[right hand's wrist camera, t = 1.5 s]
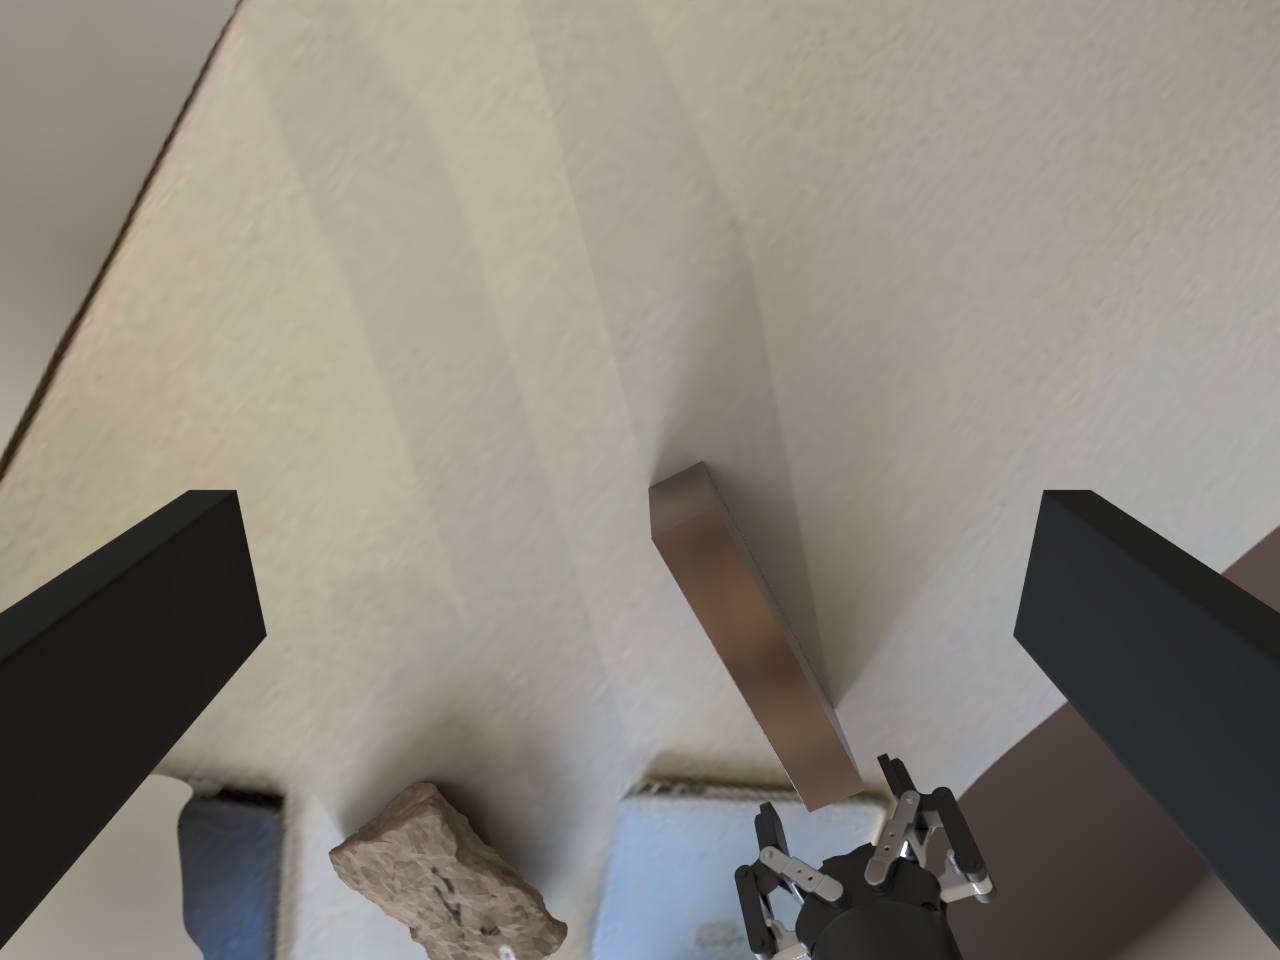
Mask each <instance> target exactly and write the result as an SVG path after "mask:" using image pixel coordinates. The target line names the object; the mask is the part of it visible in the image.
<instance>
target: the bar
mask: <svg viewBox="0 0 1280 960" xmlns="http://www.w3.org/2000/svg"><path fill="white" fill-rule="evenodd" d="M648 489H649V505H650V521H651V536H652V540H653V542H654V544H655V546H656V547H657V549H658V551H659V553H660V554H661V556H662V558H663V560H664V561H665V563H666V565H667V567H668V568H669V570H670V572H671V574H672V575H673V577H674V579H675V580H676V582H677V584H678V586H679V587H680V589H681V591H682V593H683V594H684V596H685V598H686V600H687V601H688V603H689V605H690V607H691V608H692V610H693V612H694V613H695V615H696V617H697V619H698V620H699V622H700V624H701V626H702V627H703V629H704V631H705V633H706V634H707V636H708V638H709V640H710V641H711V643H712V645H713V646H714V648H715V650H716V652H717V653H718V655H719V657H720V659H721V660H722V662H723V664H724V666H725V667H726V669H727V671H728V673H729V674H730V676H731V678H732V680H733V681H734V683H735V685H736V686H737V688H738V690H739V692H740V693H741V695H742V697H743V699H744V700H745V702H746V704H747V706H748V707H749V709H750V711H751V713H752V714H753V716H754V718H755V719H756V721H757V723H758V725H759V726H760V728H761V730H762V732H763V733H764V735H765V737H766V739H767V740H768V742H769V744H770V746H771V747H772V749H773V751H774V752H775V754H776V756H777V758H778V759H779V761H780V763H781V765H782V766H783V768H784V770H785V772H786V773H787V775H788V777H789V779H790V780H791V782H792V784H793V785H794V787H795V789H796V791H797V792H798V794H799V796H800V798H801V799H802V801H803V803H804V805H805V806H806V808H807V810H808V812H812V811H815V810H817V809H820V808H822V807H824V806H827V805H829V804H832V803H834V802H837V801H839V800H842V799H844V798H846V797H849V796H851V795H854V794H856V793H859V792H861V791H864V790H866V788H865V785H864V783H863V780H862V778H861V775H860V773H859V770H858V768H857V765H856V763H855V760H854V758H853V755H852V753H851V751H850V748H849V746H848V743H847V741H846V738H845V736H844V733H843V731H842V728H841V726H840V723H839V721H838V718H837V716H836V713H835V711H834V709H833V707H832V705H831V703H830V701H829V700H828V698H827V696H826V694H825V692H824V690H823V688H822V686H821V684H820V683H819V681H818V679H817V677H816V675H815V673H814V671H813V669H812V667H811V665H810V664H809V662H808V660H807V658H806V656H805V654H804V652H803V650H802V648H801V647H800V645H799V643H798V641H797V639H796V637H795V635H794V633H793V631H792V629H791V628H790V626H789V624H788V622H787V620H786V618H785V616H784V614H783V612H782V611H781V609H780V607H779V605H778V603H777V601H776V599H775V597H774V595H773V593H772V592H771V590H770V588H769V586H768V584H767V582H766V580H765V578H764V576H763V575H762V573H761V571H760V569H759V567H758V565H757V563H756V561H755V559H754V557H753V556H752V554H751V552H750V550H749V548H748V546H747V544H746V542H745V540H744V539H743V537H742V535H741V533H740V531H739V529H738V527H737V525H736V523H735V521H734V520H733V518H732V516H731V514H730V512H729V510H728V508H727V506H726V504H725V503H724V501H723V499H722V497H721V495H720V493H719V491H718V489H717V487H716V485H715V484H714V482H713V480H712V478H711V476H710V474H709V472H708V470H707V468H706V467H705V465H704V463H703V462H700V463H698V464H696V465H694V466H692V467H690V468H688V469H686V470H684V471H682V472H680V473H678V474H676V475H674V476H672V477H670V478H668V479H666V480H664V481H662V482H660V483H658V484H656V485H654V486H652V487H650V488H648Z"/></svg>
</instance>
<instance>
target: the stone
mask: <svg viewBox="0 0 1280 960" xmlns="http://www.w3.org/2000/svg"><path fill="white" fill-rule="evenodd" d="M329 857H330V860H331V862H332V864H333V867H334V870H335V871H336V872H337V874H338V876H339V878H340V879H341V880H342V881H343V882H344V883H345V884H346V885H347V886H349V887H350V888H351V889H353V890H355V891H358V892H359V893H360V894H362V895H364V896H365V897H366V898H367V899H369V900H371V901H372V902H373V903H376V904H377V905H378V906H379V907H380V908H381V909H382V910H383V911H384V913H385V914H386V915H388V916H391V917H393V918H395V919H397V920H399V921H400V922H402V923H404V924H405V925H406V926H408V927H409V928H410V933H411V938H412V939H413V941H414V942H418V943H420V944H421V945H422V946H423V947H424V948H425V949H426V952H427V956H428V958H429V959H430V960H547V959H548V957H549V956H550V955H551V954H553V953H555V952H556V951H557V950H558V949H559V948H560V946H561V945H562V943H563V941H564V939H565V938H566V936H567V928H568V927H567V924H566V923H565V922H561V921H558V920H556V919H554V918H553V917H552V916H551V915H550V914H549V912H548V911H547V910H546V908H545V904H544V903H543V897H542V896H541V894H540V893H539V892H538V891H537V890H536V889H534V888H533V887H532V886H530V885H528V884H526V883H525V882H524V878H523V874H520V873H519V872H518V871H517V870H516V869H515V868H513V867H512V866H510V865H509V864H506V863H505V861H504V859H502V858H501V857H500V856H499V855H497V853H496V851H495V850H494V848H492V847H490V846H488V845H484V843H483V842H482V841H481V840H480V838H479V837H478V835H477V834H476V833H474V832H473V830H472V829H471V827H470V825H469V823H468V819H467V817H466V816H465V815H463V814H460V813H459V812H457V811H456V809H455V808H454V807H453V806H451V805H450V804H449V803H448V802H447V801H446V799H445V798H444V797H443V796H442V795H441V793H440V792H439V790H438V789H437V788H436V785H434V784H431V783H430V782H428V783H416V784H414V785H413V786H411V787H409V788H408V789H406V790H405V791H404V792H402V793H401V794H400V795H398V796H397V797H396V798H395V799H394V800H393V801H392V802H390V803H389V804H388V806H387V807H386V809H385V810H384V812H383V813H382V814H381V815H380V816H379V817H377V818H374V819H373V820H372V821H371V822H369V823H368V824H367V825H365V826H364V827H362V828H361V829H360V830H359V831H358V832H357V833H355V834H353V835H351V836H350V837H348V838H347V839H346V840H345V841H344V842H343V843H342V844H341V845H339V846H337V847H335V848H333V849H332V850H331V851H330V852H329Z"/></svg>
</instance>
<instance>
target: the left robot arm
mask: <svg viewBox="0 0 1280 960" xmlns="http://www.w3.org/2000/svg"><path fill="white" fill-rule="evenodd" d="M877 759H878V761H879V763H880V766H881V768H882V770H883V772H884V775H885V777H886V779H887V782H888V784H889V786H890V788H891V791H892V793H893V795H894V797H895V799H896V801H897V803H898V805H897V808H896V811H895V813H894V816H893V818H892V819H888V820H887V821H886V824H885V827H884V829H883V832H882V835H881V837H880V840H879V843H878V845H877V846H872V844H871V842H870V843H867V844H865V845H862V846H860V847H858V848H856V849H855V850H853V851H852V852H850V853H849V854H847V855H841V856H834V857H831V858H829V859H826V860H824V861H822V862H823V866H822V867H821V868H820V869H819V870H818V871H817V870H816V869H814V868H812V867H811V866H809V865H808V864H806V863H804V862H803V861H801V860H799V859H798V858H796V857H794V856H793V857H792V858H791V857H790V856H789V852H788V847H787V843H786V839H785V835H784V831H783V826H782V823H781V820H780V818H779V816H778V814H777V813H776V811H775V809H774V808H773V806H772V804H771V803H770V801H769V802H766V803H764V804H762V805H760V810H761V814H758V815H756V818H755V822H754V823H755V828H756V833H757V838H758V843H759V848H760V854H759V858H758V860H757V861H756V862H755V863H754V864H753V865H751V866H749V865H742V866H740V867H739V868H738V869H737V870H736V872H735V881H736V885H737V890H738V894H739V899H740V903H741V908H742V912H743V917H744V921H745V926H746V931H747V935H748V940H749V944H750V948H751V950H752V952H753V953H754V955H755V956H756V958H757V959H758V960H795V959H798V958H800V957H802V956H804V955H808V956H809V957H810V958H811V960H963V957H962V955H961V953H960V950H959V948H958V946H957V944H956V941H955V939H954V937H953V934H952V932H951V930H950V927H949V925H948V923H947V918H946V911H947V903H948V902H951V901H954V900H958V899H961V898H964V897H968V896H971V895H974V896H975V897H976V899H977V900H978V901H980V902H983V903H989V902H992V901H993V900H994V899H995V898H996V896H997V890H996V888H995V885H994V883H993V881H992V879H991V877H990V874H989V872H988V870H987V868H986V865H985V863H984V861H983V859H982V856H981V854H980V852H979V850H978V848H977V845H976V843H975V841H974V839H973V836H972V834H971V832H970V830H969V827H968V825H967V823H966V821H965V819H964V817H963V814H962V813H961V811H960V809H959V807H958V805H957V802H956V800H955V798H954V796H953V794H952V792H951V790H950V789H949V788H947V787H938V788H936V789H935V790H934V791H933V792H932V794H921V793H919V792H918V791H917V790H916V788H915V786H914V784H913V782H912V780H911V778H910V776H909V774H908V772H907V770H906V768H905V766H904V764H903V762H902V761H901V760H899V759H898V758H895V759H893V760H891V761H890V759H889V757H888V755H887V753H886V754H883V755H881V756H878V757H877ZM943 826H944V829H945V831H946V833H947V836H948V838H949V841H950V843H951V846H952V848H953V850H952V849H950V850H948V851H947V852H946V855H947V856H946V857H945V859H944V866H945V869H944V872H943V873H942V874H941V875H940V876H939V877H935V876H934V875H933V874H932V873H931V872H930V871H928V870H926V869H925V865H926V860H927V858H926V848H927V845H928V841H929V838H930V835H931V832H932V829H933V827H943ZM777 887H778V888H779V889H781V890H782V891H784V892H785V893H787V894H788V895H790V896H791V897H792V898H794V899H795V900H796V901H798V903H799V904H800V905H801V906H802V908H801V911H800V913H799V916H798V918H797V921H796V925H795V931H788V930H786V929H785V927H784V926H783V924H782V923H781V922H780V921H778V920H774V916H773V912H772V908H771V904H770V901H769V897H768V894H769V893H770V892H772V891H773V890H774V889H775V888H777Z"/></svg>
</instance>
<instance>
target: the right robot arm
mask: <svg viewBox="0 0 1280 960" xmlns="http://www.w3.org/2000/svg"><path fill="white" fill-rule="evenodd" d="M266 636H267V634H266V630H265V625H264V620H263V615H262V611H261V606H260V601H259V596H258V591H257V587H256V582H255V577H254V572H253V567H252V563H251V558H250V553H249V548H248V543H247V539H246V534H245V529H244V524H243V519H242V515H241V510H240V505H239V500H238V495H237V491H236V490H188V491H187V492H185V493H184V494H182V495H181V496H179V497H178V498H176V499H175V500H173V501H172V502H170V503H169V504H167V505H165V506H164V507H162V508H161V509H159V510H158V511H156V512H155V513H153V514H152V515H150V516H149V517H147V518H146V519H144V520H143V521H141V522H139V523H138V524H136V525H135V526H133V527H132V528H130V529H129V530H127V531H126V532H124V533H123V534H121V535H120V536H118V537H117V538H115V539H113V540H112V541H110V542H109V543H107V544H106V545H104V546H103V547H101V548H100V549H98V550H97V551H95V552H94V553H92V554H90V555H89V556H87V557H86V558H84V559H83V560H81V561H80V562H78V563H77V564H75V565H74V566H72V567H71V568H69V569H68V570H66V571H64V572H63V573H61V574H60V575H58V576H57V577H55V578H54V579H52V580H51V581H49V582H48V583H46V584H45V585H43V586H42V587H40V588H38V589H37V590H35V591H34V592H32V593H31V594H29V595H28V596H26V597H25V598H23V599H22V600H20V601H19V602H17V603H16V604H14V605H12V606H11V607H9V608H8V609H6V610H5V611H3V612H2V613H0V950H1V949H2V947H3V946H4V945H5V944H6V943H7V941H8V940H9V939H10V938H11V937H12V936H13V934H14V933H15V932H16V931H17V930H18V928H19V927H20V926H21V925H22V924H23V923H24V921H25V920H26V919H27V918H28V917H29V916H30V914H31V913H32V912H33V911H34V910H35V908H36V907H37V906H38V905H39V904H40V903H41V901H42V900H43V899H44V898H45V897H46V895H47V894H48V893H49V892H50V891H51V890H52V888H53V887H54V886H55V885H56V884H57V882H58V881H59V880H60V879H61V878H62V877H63V875H64V874H65V873H66V872H67V871H68V869H69V868H70V867H71V866H72V865H73V864H74V862H75V861H76V860H77V859H78V858H79V857H80V855H81V854H82V853H83V852H84V851H85V849H86V848H87V847H88V846H89V845H90V844H91V842H92V841H93V840H94V839H95V838H96V836H97V835H98V834H99V833H100V832H101V831H102V829H103V828H104V827H105V826H106V825H107V823H108V822H109V821H110V820H111V819H112V818H113V816H114V815H115V814H116V813H117V812H118V810H119V809H120V808H121V807H122V806H123V805H124V803H125V802H126V801H127V800H128V799H129V798H130V796H131V795H132V794H133V793H134V792H135V790H136V789H137V788H138V787H139V786H140V785H141V783H142V782H143V781H144V780H145V779H146V778H147V776H148V775H149V774H150V773H151V772H152V770H153V769H154V768H155V767H156V766H157V765H158V763H159V762H160V761H161V760H162V759H163V757H164V756H165V755H166V754H167V753H168V752H169V750H170V749H171V748H172V747H173V746H174V744H175V743H176V742H177V741H178V740H179V739H180V737H181V736H182V735H183V734H184V733H185V732H186V730H187V729H188V728H189V727H190V726H191V724H192V723H193V722H194V721H195V720H196V719H197V717H198V716H199V715H200V714H201V713H202V711H203V710H204V709H205V708H206V707H207V706H208V704H209V703H210V702H211V701H212V700H213V698H214V697H215V696H216V695H217V694H218V693H219V691H220V690H221V689H222V688H223V687H224V686H225V684H226V683H227V682H228V681H229V680H230V678H231V677H232V676H233V675H234V674H235V673H236V671H237V670H238V669H239V668H240V667H241V665H242V664H243V663H244V662H245V661H246V660H247V658H248V657H249V656H250V655H251V654H252V652H253V651H254V650H255V649H256V648H257V647H258V645H259V644H260V643H261V642H262V641H263V640H264V638H265V637H266ZM1013 636H1014V637H1015V638H1016V640H1017V641H1018V642H1019V643H1020V644H1021V645H1022V647H1023V648H1024V649H1025V650H1026V651H1027V652H1028V654H1029V655H1030V656H1031V657H1032V658H1033V660H1034V661H1035V662H1036V663H1037V664H1038V665H1039V667H1040V668H1041V669H1042V670H1043V671H1044V673H1045V674H1046V675H1047V676H1048V677H1049V678H1050V680H1051V681H1052V682H1053V683H1054V684H1055V686H1056V687H1057V688H1058V689H1059V690H1060V691H1061V693H1062V694H1063V695H1064V696H1065V697H1066V698H1067V700H1068V701H1069V702H1070V703H1071V704H1072V706H1073V707H1074V708H1075V709H1076V710H1077V711H1078V713H1079V714H1080V715H1081V716H1082V717H1083V719H1084V720H1085V721H1086V722H1087V723H1088V724H1089V726H1090V727H1091V728H1092V729H1093V730H1094V732H1095V733H1096V734H1097V735H1098V736H1099V737H1100V739H1101V740H1102V741H1103V742H1104V743H1105V744H1106V746H1107V747H1108V748H1109V749H1110V750H1111V752H1112V753H1113V754H1114V755H1115V756H1116V757H1117V759H1118V760H1119V761H1120V762H1121V763H1122V765H1123V766H1124V767H1125V768H1126V769H1127V770H1128V772H1129V773H1130V774H1131V775H1132V776H1133V778H1134V779H1135V780H1136V781H1137V782H1138V783H1139V785H1140V786H1141V787H1142V788H1143V789H1144V790H1145V792H1146V793H1147V794H1148V795H1149V796H1150V798H1151V799H1152V800H1153V801H1154V802H1155V803H1156V805H1157V806H1158V807H1159V808H1160V809H1161V810H1162V812H1163V813H1164V814H1165V815H1166V816H1167V818H1168V819H1169V820H1170V821H1171V822H1172V823H1173V825H1174V826H1175V827H1176V828H1177V829H1178V831H1179V832H1180V833H1181V834H1182V835H1183V836H1184V838H1185V839H1186V840H1187V841H1188V842H1189V844H1190V845H1191V846H1192V847H1193V848H1194V849H1195V851H1196V852H1197V853H1198V854H1199V855H1200V857H1201V858H1202V859H1203V860H1204V861H1205V862H1206V864H1207V865H1208V866H1209V867H1210V868H1211V870H1212V871H1213V872H1214V873H1215V874H1216V875H1217V877H1218V878H1219V879H1220V880H1221V881H1222V882H1223V884H1224V885H1225V886H1226V887H1227V888H1228V890H1229V891H1230V892H1231V893H1232V894H1233V895H1234V897H1235V898H1236V899H1237V900H1238V901H1239V903H1240V904H1241V905H1242V906H1243V907H1244V908H1245V910H1246V911H1247V912H1248V913H1249V914H1250V916H1251V917H1252V918H1253V919H1254V920H1255V921H1256V923H1257V924H1258V925H1259V926H1260V927H1261V928H1262V930H1263V931H1264V932H1265V933H1266V934H1267V936H1268V937H1269V938H1270V939H1271V940H1272V941H1273V943H1274V944H1275V945H1276V946H1277V947H1278V949H1279V950H1280V613H1278V612H1277V611H1275V610H1274V609H1272V608H1271V607H1269V606H1268V605H1266V604H1264V603H1263V602H1261V601H1260V600H1258V599H1257V598H1255V597H1254V596H1252V595H1251V594H1249V593H1248V592H1246V591H1245V590H1243V589H1242V588H1240V587H1238V586H1237V585H1235V584H1234V583H1232V582H1231V581H1229V580H1228V579H1226V578H1225V577H1223V576H1222V575H1220V574H1219V573H1217V572H1216V571H1214V570H1212V569H1211V568H1209V567H1208V566H1206V565H1205V564H1203V563H1202V562H1200V561H1199V560H1197V559H1196V558H1194V557H1193V556H1191V555H1190V554H1188V553H1186V552H1185V551H1183V550H1182V549H1180V548H1179V547H1177V546H1176V545H1174V544H1173V543H1171V542H1170V541H1168V540H1167V539H1165V538H1163V537H1162V536H1160V535H1159V534H1157V533H1156V532H1154V531H1153V530H1151V529H1150V528H1148V527H1147V526H1145V525H1144V524H1142V523H1141V522H1139V521H1137V520H1136V519H1134V518H1133V517H1131V516H1130V515H1128V514H1127V513H1125V512H1124V511H1122V510H1121V509H1119V508H1118V507H1116V506H1115V505H1113V504H1111V503H1110V502H1108V501H1107V500H1105V499H1104V498H1102V497H1101V496H1099V495H1098V494H1096V493H1095V492H1093V491H1092V490H1044V491H1043V495H1042V500H1041V505H1040V510H1039V515H1038V519H1037V524H1036V529H1035V534H1034V539H1033V543H1032V548H1031V553H1030V558H1029V563H1028V567H1027V572H1026V577H1025V582H1024V587H1023V591H1022V596H1021V601H1020V606H1019V611H1018V615H1017V620H1016V625H1015V630H1014V634H1013Z"/></svg>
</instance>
